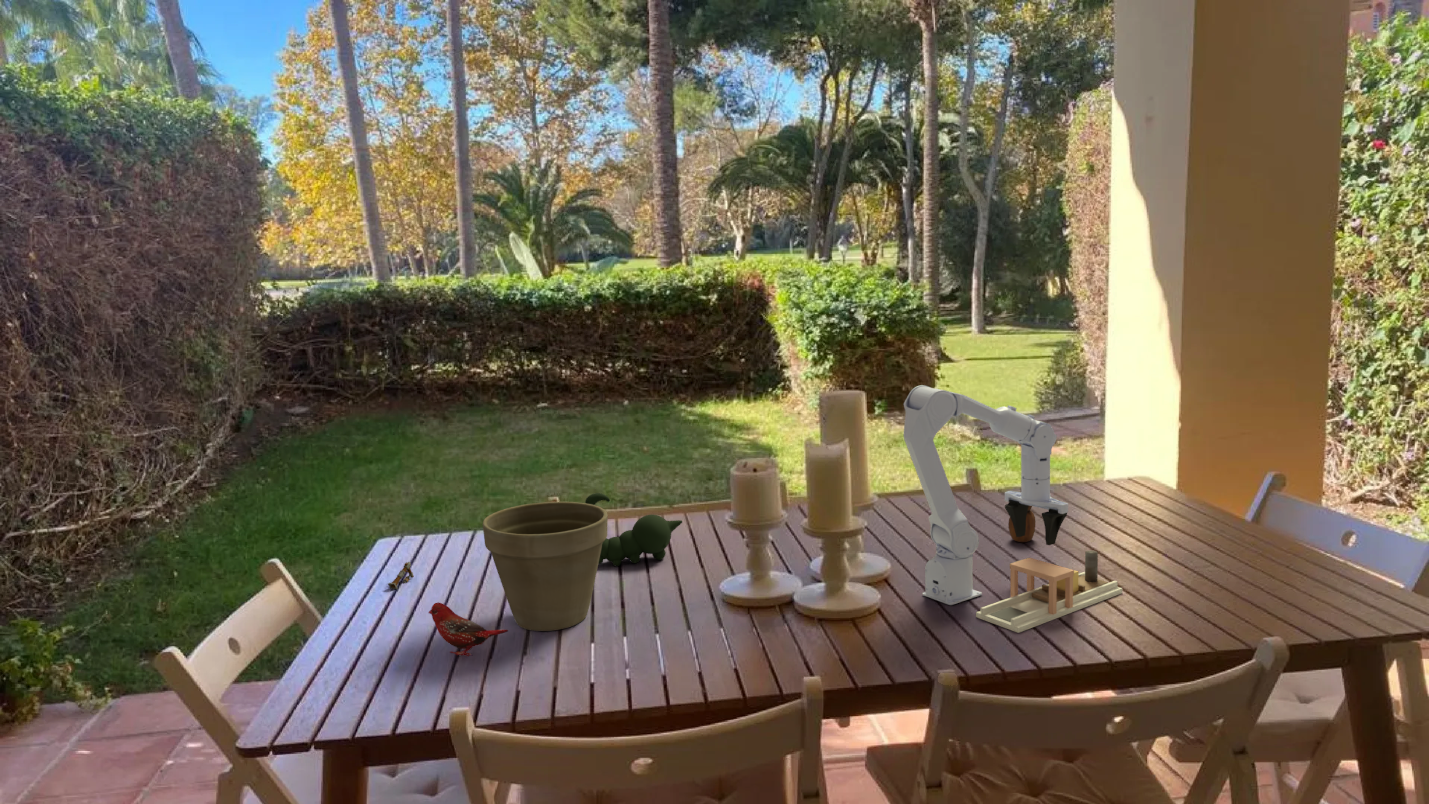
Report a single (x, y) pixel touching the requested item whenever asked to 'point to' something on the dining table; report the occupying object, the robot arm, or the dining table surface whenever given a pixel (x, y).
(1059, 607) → the track
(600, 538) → the plant pot
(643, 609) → the dining table surface
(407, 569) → the wooden post with brackets
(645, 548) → the toy figurine
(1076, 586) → the block
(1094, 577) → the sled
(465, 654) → the decorative bird figurine
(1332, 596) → the dining table surface
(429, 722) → the dining table surface
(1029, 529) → the wooden figurine
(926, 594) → the robot arm
